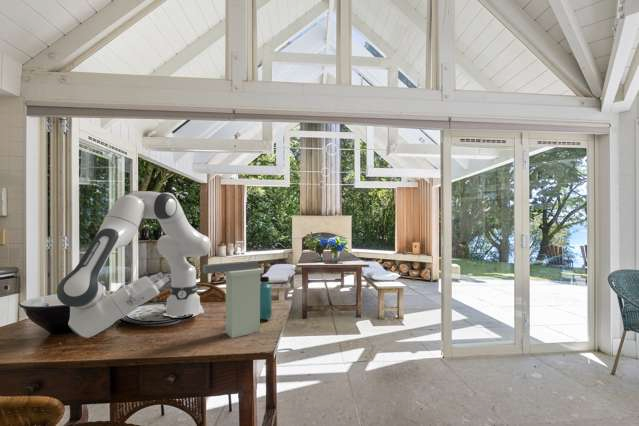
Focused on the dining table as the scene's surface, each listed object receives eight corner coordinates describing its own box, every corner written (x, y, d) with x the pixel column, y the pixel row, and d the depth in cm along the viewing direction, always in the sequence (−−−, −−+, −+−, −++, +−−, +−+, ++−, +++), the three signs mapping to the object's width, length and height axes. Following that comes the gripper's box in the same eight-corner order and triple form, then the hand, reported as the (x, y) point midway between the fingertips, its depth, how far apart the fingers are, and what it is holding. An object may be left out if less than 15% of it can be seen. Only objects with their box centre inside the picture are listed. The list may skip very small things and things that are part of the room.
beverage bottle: (268, 322, 146) (269, 278, 146) (254, 321, 147) (255, 277, 147) (273, 318, 152) (273, 275, 153) (260, 317, 154) (260, 275, 154)
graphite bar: (205, 273, 124) (205, 265, 124) (202, 272, 126) (203, 264, 126) (258, 268, 137) (258, 261, 137) (255, 267, 139) (255, 260, 139)
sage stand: (230, 339, 126) (230, 272, 127) (222, 332, 134) (223, 269, 134) (263, 331, 135) (263, 269, 135) (253, 325, 142) (254, 266, 142)
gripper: (124, 299, 100) (166, 273, 107) (118, 286, 117) (155, 265, 124) (135, 315, 102) (176, 288, 109) (128, 300, 119) (164, 278, 126)
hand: (165, 275), depth 117 cm, fingers open, 8 cm apart
